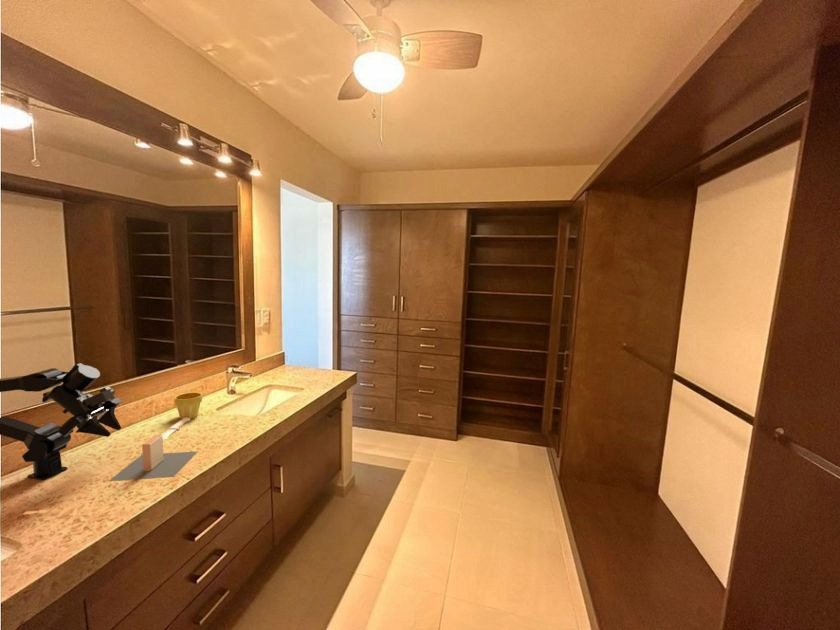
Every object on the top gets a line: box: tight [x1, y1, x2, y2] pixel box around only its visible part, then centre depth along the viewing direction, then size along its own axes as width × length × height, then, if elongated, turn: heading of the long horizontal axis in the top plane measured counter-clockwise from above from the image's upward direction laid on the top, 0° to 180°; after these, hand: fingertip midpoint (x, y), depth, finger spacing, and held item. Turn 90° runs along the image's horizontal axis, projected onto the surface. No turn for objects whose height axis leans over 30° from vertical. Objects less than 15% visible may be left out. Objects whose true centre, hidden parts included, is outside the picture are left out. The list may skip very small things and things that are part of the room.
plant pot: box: [174, 391, 203, 420], centre depth 153 cm, size 10×10×10 cm
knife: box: [162, 417, 191, 440], centre depth 135 cm, size 30×2×8 cm
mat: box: [108, 450, 199, 482], centre depth 113 cm, size 18×16×1 cm
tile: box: [141, 433, 164, 471], centre depth 112 cm, size 2×7×9 cm, turn 10°
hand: (115, 432), depth 110 cm, fingers open, 4 cm apart
